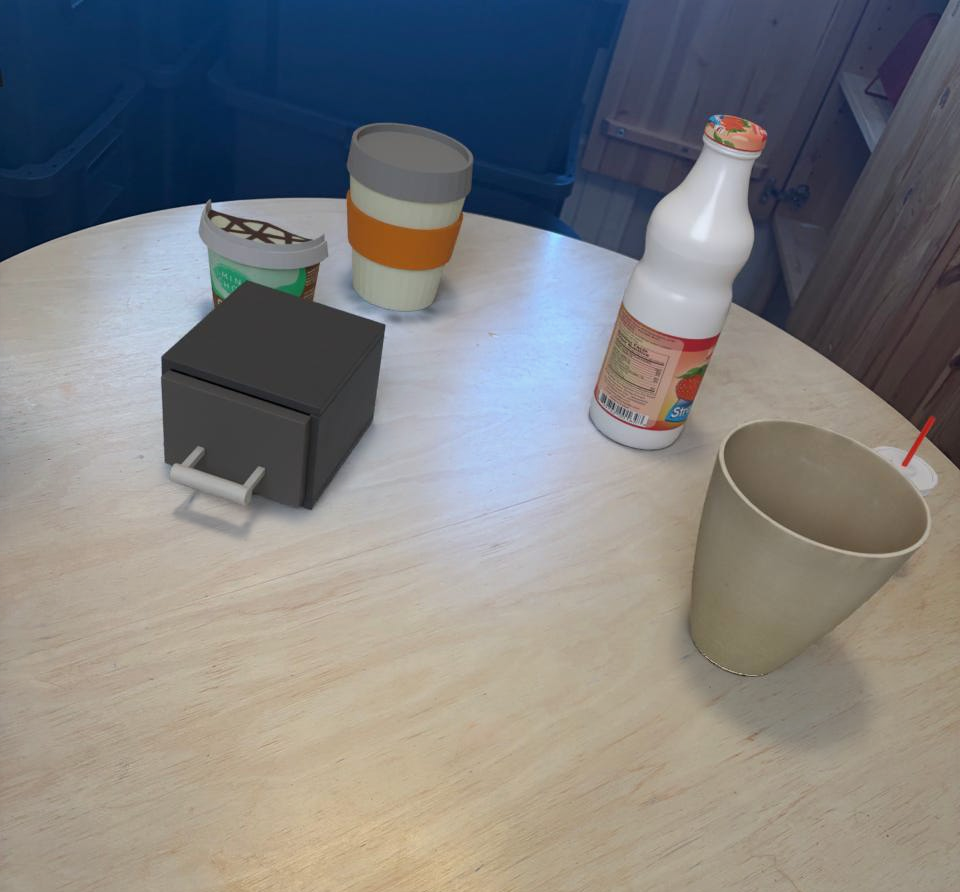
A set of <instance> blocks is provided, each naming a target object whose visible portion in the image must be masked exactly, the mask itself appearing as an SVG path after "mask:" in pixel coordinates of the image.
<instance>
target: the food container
mask: <svg viewBox="0 0 960 892" xmlns="http://www.w3.org/2000/svg"><path fill="white" fill-rule="evenodd" d="M198 235H199V238H200V240H201V241H202V242H203V244H204V245H205V246H206V247H207V257H208V267H209V273H210V274H209V275H210V284H211V286H210V287H211V294H212V295H211V296H212V303H213V305H212V306H213V309H214V308H216V307H217V306H218V305H219V304H220V303H221V302H222V301H223V300H224V299H226V298H227V297H228V296H229V295H230V294H231V293H232V292H233V291H234V290H235V289H237V288H238V287H239V286H240V285H241V284H242V283H243V282H244V281H245V280H248V281H252V282H255V283H258V284H261V285H264V286H267V287H270V288H273V289H277V290H280V291H283V292H286V293H289V294H292V295H295V296H298V297H302V298H305V299H308V300H311V301H314V297H315V293H316V292H315V291H316V287H317V282H318V276H319V272H320V266H321V262H323V261H325V260H326V259H327V258H329V250H328V249H329V248H328V240H326V239H325V235H326V234H325V233H322V234H321V235H320V236H318V237H316V238H314V239H313V238H307V237H304V236H300V235H298V234H294V233H291V232H289V231H287V230H285V229H283V228H281V227H279V226H277V225H274V224H273V223H269V222H267V221H262V220H259V219H258V220H257V219H248V218H243V217H238V216H234V215H230V214H228V213H224V212H221V211H217V210H214V209H213V208H212V199H209V200H208V201H206V203H205V205H204V208H203V209H202V211H201V216H200V221H199V226H198Z"/></svg>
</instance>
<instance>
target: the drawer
mask: <svg viewBox="0 0 960 892" xmlns="http://www.w3.org/2000/svg"><path fill="white" fill-rule="evenodd" d="M160 390H161V409H162V410H161V413H162V433H163V454H164V456H163V457H164V463H165V464H167V465H170V466H171V468H170V471H169V478H168V479H169V480H170V481H171V482H173V483H176V484H179V485H182V486H184V487H187V488H190V489H195V490H197V491H199V492H203V493H206V494H209V495H212V496H215V497H218V498H221V499H223V500H226V501H229V502H232V503H236V504H239V505H242V506H244V507H245V506H247V505H248V504H249V503H250V502H251V499H252V494H253V493H254V494H256V495H259V496H262V497H266V498H269V499H272V500H274V501H278V502H281V503H284V504H287V505H289V506H292V507H296V508H300V505H301V504H302V502H303V501H304V499H305V487H306V475H307V463H308V450H309V438H310V426H311V416H310V414H308V413H305V412H302V411H299V410H296V409H293V408H290V407H287V406H284V405H281V404H278V403H275V402H272V401H269V400H266V399H263V398H260V397H257V396H253V395H250V394H247V393H244V392H241V391H238V390H235V389H232V388H229V387H226V386H223V385H220V384H217V383H214V382H211V381H208V380H205V379H201V378H198V377H195V376H192V375H189V374H186V375H183V374H180V373H177V372H173V371H170V370H168V371H167V372H166V373H165V374H164V375H163V376H162V375H161V376H160Z"/></svg>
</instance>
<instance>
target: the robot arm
mask: <svg viewBox="0 0 960 892" xmlns="http://www.w3.org/2000/svg"><path fill="white" fill-rule="evenodd" d="M3 87H4V84H3V75H2V69H1V67H0V88H3Z"/></svg>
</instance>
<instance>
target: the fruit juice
mask: <svg viewBox="0 0 960 892" xmlns="http://www.w3.org/2000/svg"><path fill="white" fill-rule="evenodd" d="M767 139H768V133H767V131H766V130H765V129H764V128H763V127H762V126H760V125H759V124H757V123H754V122H753V121H750V120H747V119H744V118H742V117H738V116H733V115H728V114H715V115H714V114H713V115H711V116H710V117H709V119H708V120H707V122H706V125H705V127H704V130H703V135H702V142H703V147H702V149H701V152H700V154H699V156H698V158H697V160H696V162H695V163H694V165H693V166H692V168H691V169H690V171H689V172H688V174H687V175H686V177H685V178H684V179H683V181H682V182H681V183H680V184H679V185H678V186H677V187H675V189H673V190H672V191H670V192H669V193H668V194H666V195H665V196H664V197H663V198H662V199H661V200H660V201H659V202H658V203H657V204H656V205H655V207H654V208H653V210H652V211H651V212H652V213H650V217H649V219H648V222H647V225H646V231H645V241H644V243H645V244H644V253H643V256H642V257H641V259H640V260H639V261H638V262H636V264H635V266H634V268H633V269H632V271H631V274H630V277H629V279H628V281H627V285H626V287H625V290H624V292H623V296H622V300H621V303H620V307H619V309H618V313H617V316H616V318H615V319H616V320H615V322H614V326H613V329H612V331H611V335H610V338H609V341H608V345H607V348H606V350H605V354H604V357H603V361H602V364H601V367H600V371H599V374H598V377H597V380H596V384H595V387H594V390H593V393H592V396H591V400H590V405H589V414H590V419H591V421H592V423H593V425H594V426H595V427H596V428H597V429H598V430H599V432H601V433H602V434H603V435H604V436H606V437H607V438H609V439H611V440H612V441H614V442H617V443H619V444H621V445H623V446H626V447H630V448H634V449H639V450H651V451H652V450H660V449H661V450H662V449H664V448H667V447H669V446H671V445H672V444H674V443H675V442H676V441H677V440H678V439H679V437H680V435H681V433H682V431H683V430H684V428H685V425H686V423H687V420H688V417H689V414H690V412H691V409H692V407H693V405H694V401H695V398H696V397H697V395H698V391H699V389H700V386H701V385H702V382H703V379H704V378H705V377H704V376H705V374H706V372H707V368H708V366H709V363H710V361H711V359H712V356H713V354H714V352H715V348H716V346H717V344H718V341H719V338H720V336H721V334H722V331H723V329H724V327H725V324H726V321H727V319H728V315H729V312H730V309H731V305H732V303H733V302H732V301H733V284H734V282H735V279H736V278H737V276H738V275H739V274H740V272H741V271H742V269H743V268H744V267H745V266H746V264H747V262H748V260H749V259H750V256H751V253H752V250H753V246H754V243H755V242H754V241H755V228H754V223H753V219H752V215H751V214H750V213H751V212H750V210H749V199H748V198H749V189H750V179H751V173H752V170H753V166H754V163H755V161H756V160H757V159H758V158H759V157H760V156H761V155H762V152H763V150H764V149H765V146H766V142H767Z"/></svg>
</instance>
